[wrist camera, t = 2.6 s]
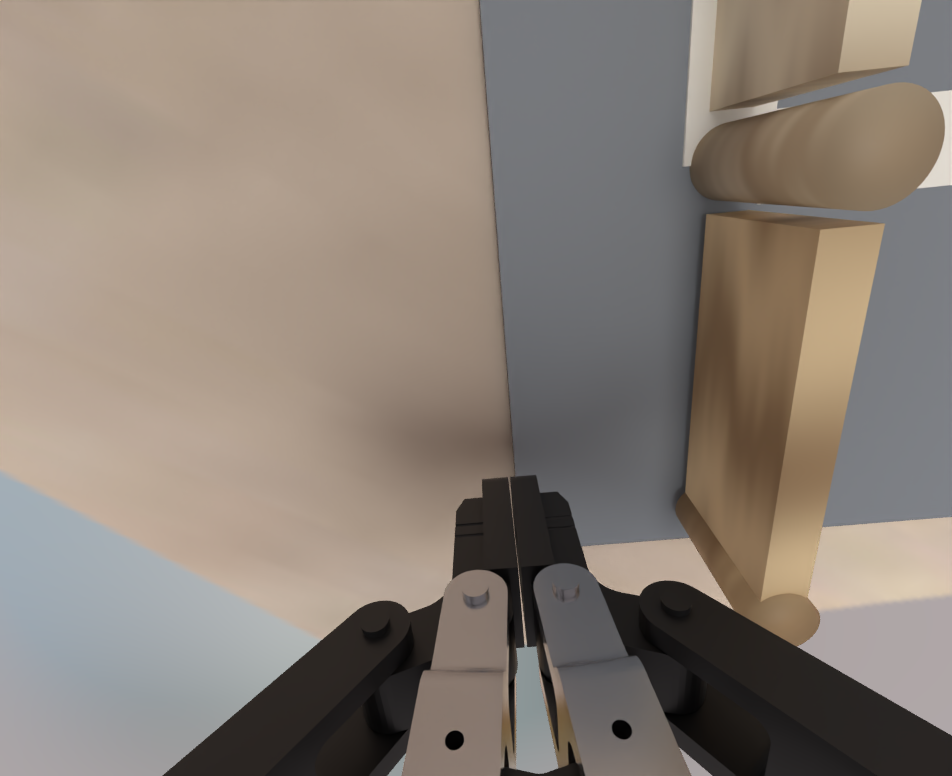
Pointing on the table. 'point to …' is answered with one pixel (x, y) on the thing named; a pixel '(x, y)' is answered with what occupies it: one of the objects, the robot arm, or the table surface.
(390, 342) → the table surface
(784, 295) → the fence gate
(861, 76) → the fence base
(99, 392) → the table surface
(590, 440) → the card
